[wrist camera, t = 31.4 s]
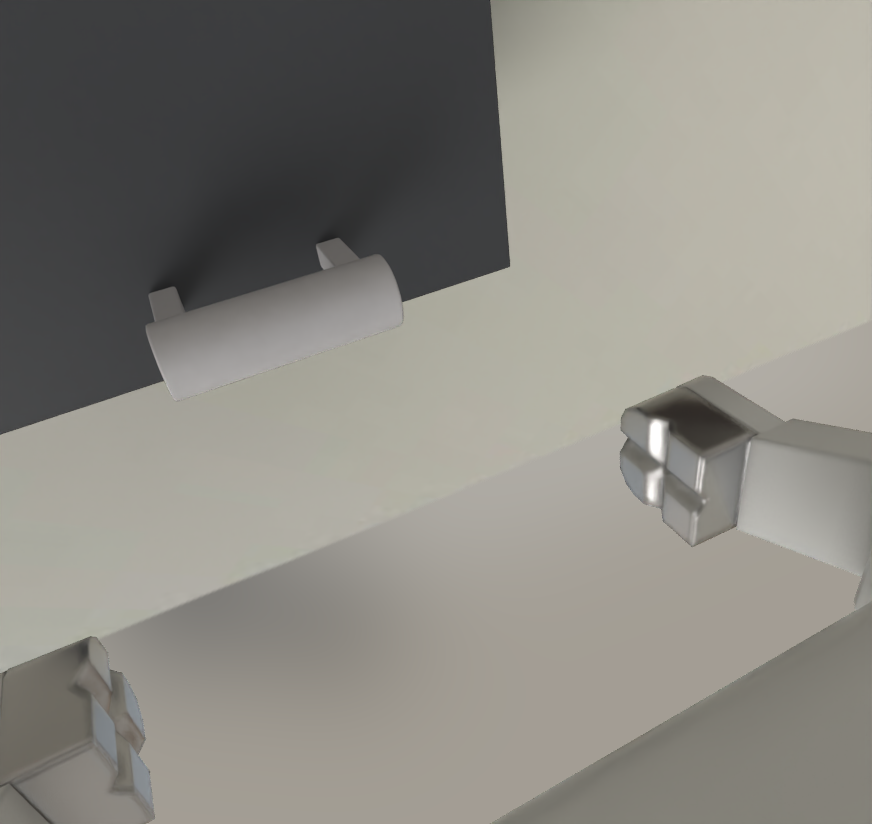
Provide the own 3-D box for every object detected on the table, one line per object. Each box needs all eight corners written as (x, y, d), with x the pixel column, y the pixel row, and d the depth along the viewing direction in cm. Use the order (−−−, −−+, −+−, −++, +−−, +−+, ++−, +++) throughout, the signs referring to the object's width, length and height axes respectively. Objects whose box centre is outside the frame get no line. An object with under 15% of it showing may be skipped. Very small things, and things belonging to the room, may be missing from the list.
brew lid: (498, 258, 23) (587, 319, 19) (-18, 426, 18) (-39, 547, 15) (442, -402, 14) (584, -537, 10) (-535, -361, 10) (-904, -560, 6)
